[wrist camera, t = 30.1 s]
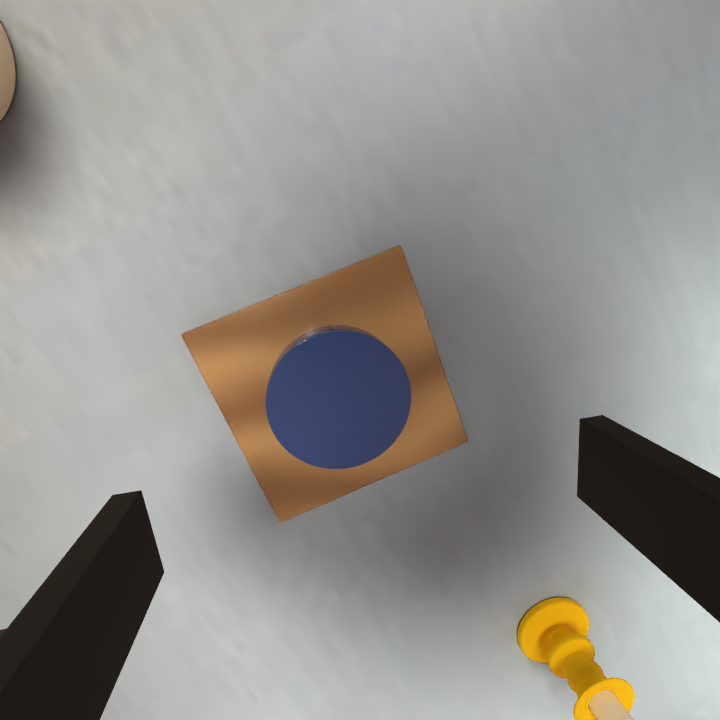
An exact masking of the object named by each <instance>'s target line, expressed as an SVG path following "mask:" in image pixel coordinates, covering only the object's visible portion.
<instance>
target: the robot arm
mask: <svg viewBox="0 0 720 720" xmlns="http://www.w3.org/2000/svg"><path fill="white" fill-rule="evenodd" d="M577 497H579V498H580V499H581V500H582V501H583V502H584V503H585V504H587V505H588V506H589V507H590V508H591V509H592V510H593V511H594V512H596V513H597V514H598V515H599V516H600V517H601V518H602V519H603V520H605V521H606V522H607V523H608V524H609V525H610V526H611V527H613V528H614V529H615V530H616V531H617V532H618V533H619V534H620V535H622V536H623V537H624V538H625V539H626V540H627V541H628V542H629V543H631V544H632V545H633V546H634V547H635V548H636V549H637V550H639V551H640V552H641V553H642V554H643V555H644V556H645V557H646V558H648V559H649V560H650V561H651V562H652V563H653V564H654V565H655V566H657V567H658V568H659V569H660V570H661V571H662V572H663V573H665V574H666V575H667V576H668V577H669V578H670V579H671V580H672V581H674V582H675V583H676V584H677V585H678V586H679V587H680V588H681V589H683V590H684V591H685V592H686V593H687V594H688V595H689V596H691V597H692V598H693V599H694V600H695V601H696V602H697V603H698V604H700V605H701V606H702V607H703V608H704V609H705V610H706V611H707V612H709V613H710V614H711V615H712V616H713V617H714V618H715V619H717V620H718V621H719V622H720V478H719V477H717V476H715V475H713V474H711V473H709V472H707V471H706V470H704V469H702V468H700V467H698V466H696V465H694V464H693V463H691V462H689V461H687V460H685V459H683V458H681V457H680V456H678V455H676V454H674V453H672V452H670V451H668V450H667V449H665V448H663V447H661V446H659V445H657V444H655V443H654V442H652V441H650V440H648V439H646V438H644V437H642V436H641V435H639V434H637V433H635V432H633V431H631V430H629V429H628V428H626V427H624V426H622V425H620V424H618V423H616V422H615V421H613V420H611V419H609V418H607V417H605V416H603V415H600V416H594V417H588V418H582V419H580V429H579V457H578V485H577ZM163 574H164V569H163V566H162V562H161V559H160V555H159V552H158V548H157V545H156V541H155V537H154V534H153V530H152V527H151V523H150V520H149V516H148V513H147V509H146V506H145V502H144V498H143V495H142V491H135V492H129V493H123V494H117V495H112V496H111V498H110V499H109V500H108V502H107V503H106V504H105V505H104V507H103V508H102V509H101V510H100V512H99V513H98V514H97V515H96V517H95V518H94V519H93V521H92V522H91V523H90V524H89V526H88V527H87V528H86V529H85V531H84V532H83V533H82V534H81V536H80V537H79V538H78V539H77V541H76V542H75V543H74V545H73V546H72V547H71V548H70V550H69V551H68V552H67V553H66V555H65V556H64V557H63V558H62V560H61V561H60V562H59V564H58V565H57V566H56V567H55V569H54V570H53V571H52V572H51V574H50V575H49V576H48V577H47V579H46V580H45V581H44V583H43V584H42V585H41V586H40V588H39V589H38V590H37V591H36V593H35V594H34V595H33V596H32V598H31V599H30V600H29V602H28V603H27V604H26V605H25V607H24V608H23V609H22V610H21V612H20V613H19V614H18V615H17V617H16V618H15V619H14V620H13V622H12V623H11V624H10V626H9V627H8V628H7V629H3V630H0V720H100V718H101V716H102V713H103V711H104V709H105V706H106V704H107V702H108V699H109V697H110V695H111V693H112V690H113V688H114V686H115V683H116V681H117V679H118V677H119V674H120V672H121V670H122V667H123V665H124V663H125V661H126V658H127V656H128V654H129V651H130V649H131V647H132V645H133V642H134V640H135V638H136V635H137V633H138V631H139V629H140V626H141V624H142V622H143V619H144V617H145V615H146V613H147V610H148V608H149V606H150V603H151V601H152V599H153V596H154V594H155V592H156V590H157V587H158V585H159V583H160V580H161V578H162V576H163Z"/></svg>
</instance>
